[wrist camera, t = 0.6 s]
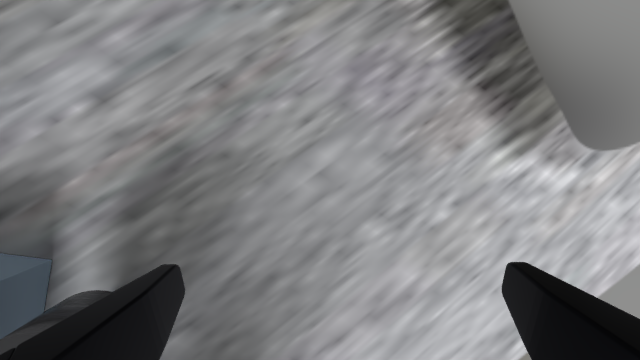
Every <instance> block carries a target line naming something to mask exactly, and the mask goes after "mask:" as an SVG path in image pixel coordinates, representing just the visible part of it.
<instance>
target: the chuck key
mask: <svg viewBox="0 0 640 360" xmlns="http://www.w3.org/2000/svg"><path fill="white" fill-rule="evenodd" d="M111 293H112V292H110V291H101V290H95V291H86V292H81V293H78V294H75V295H73V296H71V297H68V298H66V299H65V300H63V301H62V302H60V303H58V304H57V305H55V306H53V307H52V308H50V309H49V310H47V311H45V312H44V313H42V314H40V315H39V316H37V317H36V318H34V319H32V320H31V321H29V322H27V323H26V324H24V325H23V326H21V327H19V328H18V329H16V330H15V331H13V332H11V333H10V334H8V335H6V336H5V337H3V338H2V339H0V354H2V353H4V352H6V351H8V350H9V349H11V348H16V347H17V345H19V344H20V343H22V342H24V341H26V340H28V339H30V338H31V337H33V336H35V335H37V334H39V333H40V332H42V331H44V330H46V329H48V328H49V327H51V326H53V325H55V324H57V323H58V322H60V321H62V320H64V319H66V318H67V317H69V316H71V315H73V314H75V313H76V312H78V311H80V310H82V309H84V308H85V307H87V306H89V305H91V304H93V303H94V302H96V301H98V300H100V299H102V298H103V297H105V296H107V295H109V294H111Z"/></svg>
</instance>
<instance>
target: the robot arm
mask: <svg viewBox="0 0 640 360" xmlns="http://www.w3.org/2000/svg"><path fill="white" fill-rule="evenodd" d="M502 294H503V297H504V300H505V302H506V304H507V307H508V309H509V311H510V313H511V316H512V318H513V320H514V323H515V325H516V327H517V329H518V332H519V334H520V336H521V339H522V341H523V343H524V345H525V347H526V349H527V352H528V353H529V355H530V357H531V359H532V360H640V319H639V318H637V317H635V316H633V315H631V314H628V313H627V312H625V311H623V310H620V309H618V308H616V307H614V306H612V305H610V304H608V303H606V302H604V301H602V300H600V299H598V298H596V297H594V296H592V295H590V294H588V293H586V292H584V291H582V290H580V289H578V288H576V287H574V286H572V285H570V284H568V283H566V282H564V281H562V280H560V279H558V278H556V277H554V276H552V275H550V274H548V273H546V272H544V271H542V270H540V269H538V268H536V267H534V266H532V265H530V264H528V263H526V262H510V263H508V264H507V266H506V269H505V274H504V279H503V283H502ZM184 295H185V286H184V282H183V278H182V274H181V270H180V267H179V266H178V265H176V264H164V265H161V266H159V267H158V268H156V269H154V270H152V271H150V272H149V273H147V274H145V275H143V276H141V277H140V278H138V279H136V280H134V281H132V282H130V283H129V284H127V285H125V286H123V287H121V288H120V289H118V290H116V291H114V292H112V293H111V294H109V295H107V296H105V297H103V298H102V299H100V300H98V301H96V302H94V303H93V304H91V305H89V306H87V307H85V308H84V309H82V310H80V311H78V312H76V313H75V314H73V315H71V316H69V317H67V318H66V319H64V320H62V321H60V322H58V323H57V324H55V325H53V326H51V327H49V328H48V329H46V330H44V331H42V332H40V333H39V334H37V335H35V336H33V337H31V338H30V339H28V340H26V341H24V342H22V343H20V344H19V345H17V347H16V348H11V349H9V350H8V351H6V352H4V353H2V354H0V360H159V359H160V357H161V355H162V353H163V350H164V348H165V346H166V343H167V341H168V338H169V336H170V333H171V330H172V328H173V325H174V322H175V320H176V317H177V314H178V312H179V309H180V306H181V304H182V301H183V298H184Z"/></svg>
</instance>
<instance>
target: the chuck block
mask: <svg viewBox="0 0 640 360" xmlns="http://www.w3.org/2000/svg"><path fill="white" fill-rule="evenodd" d="M51 263H52V260H50V259H42V258H34V257H26V256H18V255H10V254H2V253H0V339H2V338H3V337H5V336H6V335H8V334H10V333H11V332H13V331H15V330H16V329H18V328H19V327H21V326H23V325H24V324H26V323H27V322H29V321H31V320H32V319H34V318H36V317H37V316H39V315H40V314H42V313H44V308H45V301H46V295H47V289H48V282H49V276H50V269H51Z"/></svg>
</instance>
